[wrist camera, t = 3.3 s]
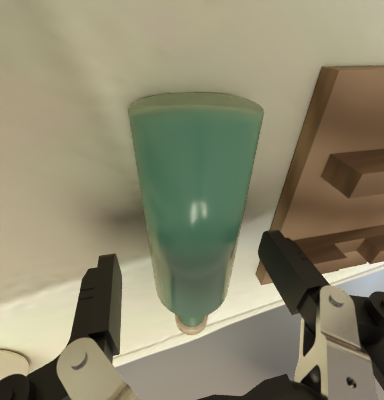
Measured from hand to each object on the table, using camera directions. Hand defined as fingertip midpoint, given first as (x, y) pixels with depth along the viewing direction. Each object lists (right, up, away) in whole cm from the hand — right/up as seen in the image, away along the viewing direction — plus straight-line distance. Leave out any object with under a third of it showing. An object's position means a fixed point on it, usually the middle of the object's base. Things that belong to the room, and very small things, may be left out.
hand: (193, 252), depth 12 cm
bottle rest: (+12, +3, +6) cm, 14 cm away
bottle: (0, +1, +4) cm, 4 cm away
